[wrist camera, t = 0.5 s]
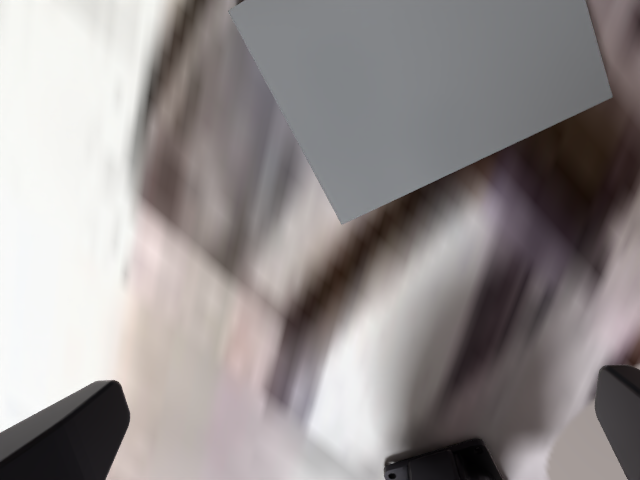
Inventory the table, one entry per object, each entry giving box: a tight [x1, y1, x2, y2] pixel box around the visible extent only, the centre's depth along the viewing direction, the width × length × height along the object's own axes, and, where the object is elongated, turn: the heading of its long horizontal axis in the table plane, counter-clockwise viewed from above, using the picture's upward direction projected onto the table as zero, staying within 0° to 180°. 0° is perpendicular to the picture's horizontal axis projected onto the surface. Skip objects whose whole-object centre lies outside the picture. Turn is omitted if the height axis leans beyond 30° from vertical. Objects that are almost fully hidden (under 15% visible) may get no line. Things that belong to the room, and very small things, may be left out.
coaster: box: [228, 0, 613, 224], centre depth 16 cm, size 10×12×1 cm
